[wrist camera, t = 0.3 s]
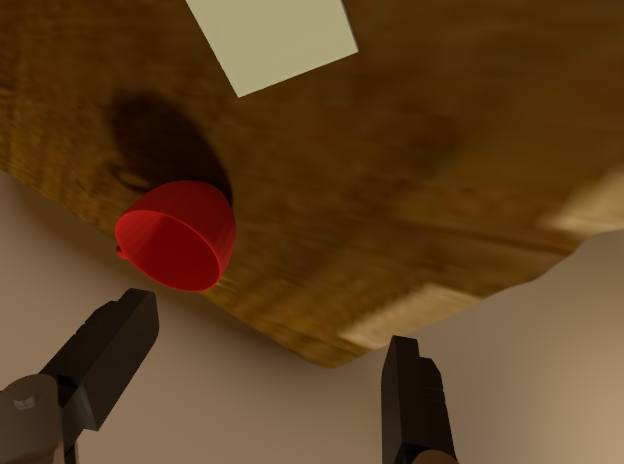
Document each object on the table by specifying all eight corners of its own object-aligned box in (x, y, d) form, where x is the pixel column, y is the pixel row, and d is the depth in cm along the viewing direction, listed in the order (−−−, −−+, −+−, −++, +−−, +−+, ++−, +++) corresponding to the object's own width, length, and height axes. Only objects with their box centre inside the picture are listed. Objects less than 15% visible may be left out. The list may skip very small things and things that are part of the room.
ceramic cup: (121, 177, 53) (70, 224, 46) (220, 148, 45) (177, 199, 38) (176, 246, 60) (139, 297, 53) (269, 231, 53) (241, 288, 45)
